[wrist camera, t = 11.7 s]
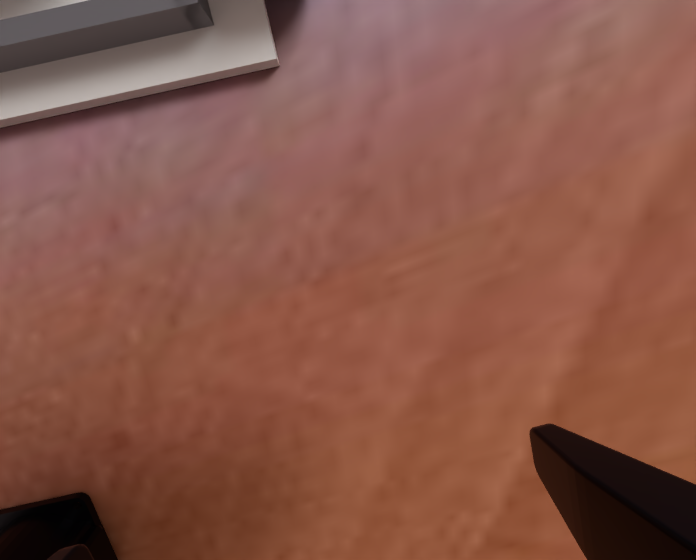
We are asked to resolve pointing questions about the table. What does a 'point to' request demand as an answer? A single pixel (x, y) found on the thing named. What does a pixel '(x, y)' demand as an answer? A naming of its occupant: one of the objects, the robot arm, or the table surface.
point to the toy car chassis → (122, 50)
